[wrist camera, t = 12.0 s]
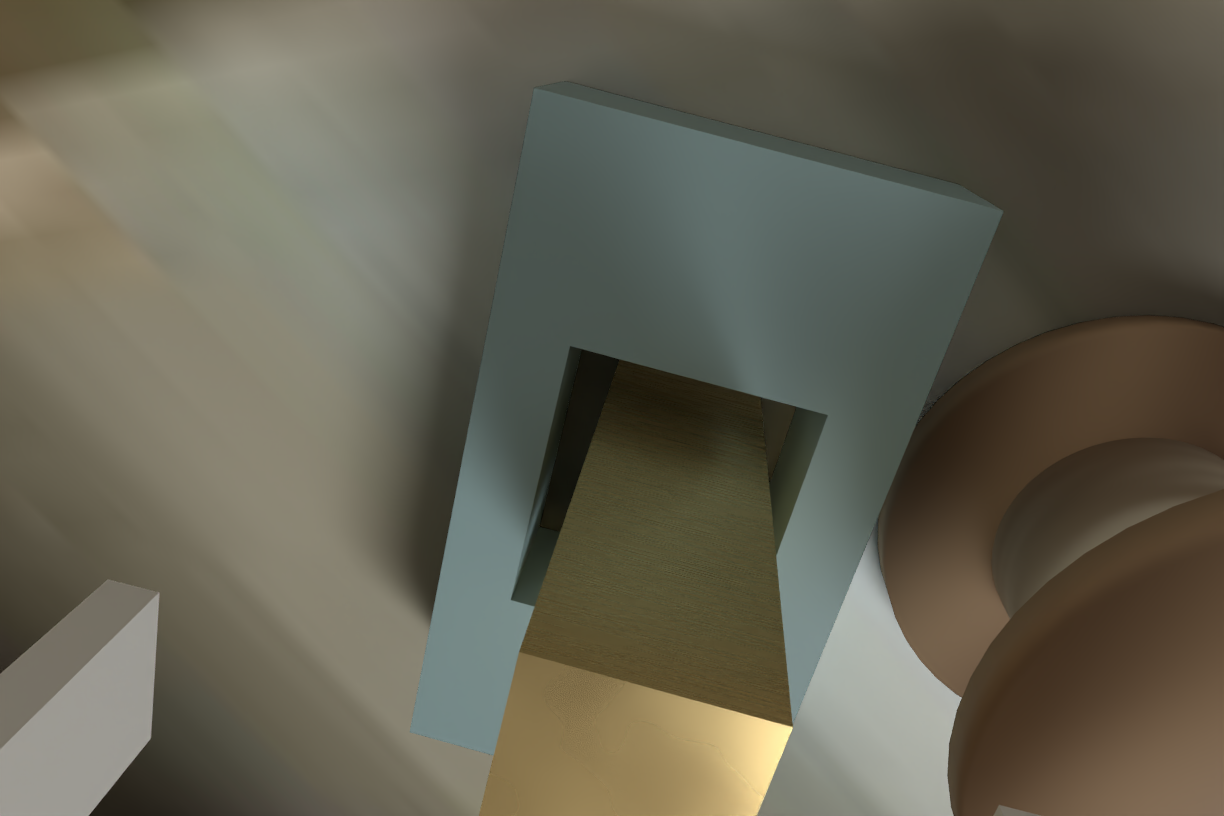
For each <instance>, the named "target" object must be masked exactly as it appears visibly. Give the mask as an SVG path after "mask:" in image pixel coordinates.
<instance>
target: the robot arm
mask: <svg viewBox="0 0 1224 816" xmlns="http://www.w3.org/2000/svg"><path fill="white" fill-rule="evenodd" d="M158 607H159V592H156V591H152V590H148V589H144V588H140V587H136V586H132V585H128V584H124V583H121V582H117V581H113V580H109V579H108V580H107V581H105V582H104V583H103V584H102V585H101V586H100V587H99V588H97V589H96V590H95V591H94V592H93V593H92V594H91V595H89V596H88V597H87V598H86V599H85V600H84V601H83V602H81V603H80V604H79V605H78V606H77V607H76V608H75V609H73V610H72V611H71V612H70V613H69V614H68V615H67V616H66V617H64V618H63V619H62V620H61V621H60V622H59V623H58V624H56V625H55V626H54V627H53V628H52V629H51V630H50V631H48V632H47V633H46V634H45V635H44V636H43V637H42V638H40V639H39V640H38V641H37V642H36V643H35V644H34V645H32V646H31V647H30V648H29V649H28V650H27V651H26V652H24V653H23V654H22V655H21V656H20V657H19V658H18V659H17V660H15V661H14V662H13V663H12V664H11V665H10V666H9V667H7V668H6V669H5V670H4V671H3V672H2V673H1V674H0V816H89V815H90V813H91V812H92V811H93V810H94V808H95V807H96V806H97V805H98V803H99V802H100V801H101V800H102V798H103V797H104V796H105V795H106V793H107V792H108V791H109V790H110V789H111V787H112V786H113V785H114V784H115V782H116V781H117V780H118V779H119V777H120V776H121V775H122V774H123V772H124V771H125V770H126V769H127V767H128V766H129V765H130V764H131V762H132V761H133V760H134V759H135V758H136V756H137V755H138V754H139V753H140V751H141V750H142V749H143V748H144V746H145V745H146V744H147V743H148V741H149V740H150V739H151V728H152V711H153V694H154V676H155V659H156V642H157V625H158ZM993 816H1041V815H1037V814H1033V813H1029V812H1025V811H1021V810H1017V809H1013V808H1009V807H1005V806H1001V805H999V806H998V808H997V810H996V812H995V814H994V815H993Z"/></svg>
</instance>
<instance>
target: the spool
mask: <svg viewBox="0 0 1224 816" xmlns="http://www.w3.org/2000/svg"><path fill="white" fill-rule="evenodd" d="M878 551H879V558H880V565H881V571H882V574H883V577H884V581H885V584H886V587H887V591H888V594H889V598H890V601H891V604H892V608H893V611H894V614H895V618H896V620H897V622H898V624H899V626H900V628H901V630H902V632H903V634H904V636H905V638H906V640H907V642H908V643H909V645H910V646H911V648H912V649H913V650H914V652H915V653H916V655H917V656H918V658H919V659H920V660H921V662H922V663H923V664H924V665H925V666H926V667H927V668H928V669H929V670H930V671H931V672H932V673H933V675H934V676H935V677H936V678H937V679H938V680H940V681H941V682H942V683H943V684H945V685H946V686H947V687H948V688H949V689H951V690H952V691H953V692H954V693H955V694H957V695H958V696H960V697H962V699H961V702H960V704H959V707H958V709H957V713H956V717H955V721H954V726H953V730H952V734H951V738H950V743H949V758H948V784H949V792H950V801H951V808H952V811H953V814H954V816H993V815H994V814H995V812H996V810H997V808H998V806H999V805H1001V806H1005V807H1009V808H1013V809H1017V810H1021V811H1025V812H1029V813H1033V814H1037V815H1041V816H1224V327H1222V326H1219V325H1216V324H1212V323H1207V322H1202V321H1197V320H1192V319H1187V318H1182V317H1167V316H1153V315H1142V316H1122V317H1111V318H1105V319H1099V320H1093V321H1087V322H1081V323H1077V324H1074V325H1070V326H1067V327H1063V328H1060V329H1056V330H1053V331H1049V332H1046V333H1044V334H1041V335H1039V336H1037V337H1034V338H1032V339H1029V340H1027V341H1024V342H1022V343H1020V344H1017V345H1015V346H1013V347H1012V348H1010V349H1008V350H1006V351H1004V352H1002V353H1001V354H999V355H997V356H995V357H993V358H991V359H990V360H988V361H986V362H985V363H984V364H982V365H981V366H979V367H978V368H976V369H975V370H974V371H972V372H971V373H969V374H968V375H967V376H965V377H964V378H962V379H961V380H960V381H959V382H958V383H957V384H955V385H954V386H953V387H952V388H951V389H950V390H949V391H948V392H947V393H945V394H944V395H943V396H942V397H941V398H940V399H939V400H938V401H937V402H936V403H935V404H934V405H933V407H932V408H931V409H930V410H929V411H928V412H927V413H926V415H925V416H924V417H923V418H922V419H921V420H920V421H919V423H918V424H917V426H916V427H915V429H914V431H913V433H912V436H911V438H910V440H909V443H908V445H907V448H906V450H905V453H904V455H903V457H902V460H901V462H900V465H899V467H898V470H897V472H896V474H895V477H894V479H893V482H892V484H891V487H890V489H889V491H888V494H887V496H886V499H885V501H884V504H883V506H882V508H881V511H880V513H879V519H878Z"/></svg>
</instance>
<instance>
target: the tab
mask: <svg viewBox="0 0 1224 816" xmlns="http://www.w3.org/2000/svg"><path fill="white" fill-rule="evenodd" d="M792 728H793V723H792V713H791V703H790V692H789V682H788V672H787V662H786V651H785V641H784V631H783V621H782V611H781V600H780V590H779V580H778V570H777V559H776V549H775V539H774V529H773V518H772V508H771V498H770V488H769V477H768V467H767V457H766V447H765V436H764V426H763V416H762V406H761V397H759V396H755V395H751V394H747V393H744V392H740V391H736V390H733V389H729V388H725V387H721V386H718V385H714V384H710V383H706V382H703V381H699V380H695V379H692V378H688V377H684V376H680V375H677V374H673V373H669V372H665V371H662V370H658V369H654V368H651V367H647V366H643V365H639V364H636V363H632V362H628V361H624V360H621V359H620V360H619V363H618V366H617V368H616V371H615V374H614V377H613V380H612V383H611V386H610V389H609V392H608V395H607V398H606V400H605V403H604V406H603V409H602V412H601V415H600V418H599V421H598V424H597V427H596V430H595V432H594V435H593V438H592V441H591V444H590V447H589V450H588V453H587V456H586V459H585V462H584V464H583V467H582V470H581V473H580V476H579V479H578V482H577V485H576V488H575V491H574V494H573V496H572V499H571V502H570V505H569V508H568V511H567V514H566V517H565V520H564V523H563V526H562V528H561V531H560V534H559V537H558V540H557V543H556V546H555V549H554V552H553V555H552V558H551V560H550V563H549V566H548V569H547V572H546V575H545V578H544V581H543V584H542V587H541V590H540V592H539V595H538V598H537V601H536V604H535V607H534V610H533V613H532V616H531V619H530V622H529V624H528V627H527V630H526V633H525V636H524V639H523V642H522V645H521V648H520V651H519V654H518V658H517V662H516V666H515V670H514V675H513V679H512V683H511V687H510V691H509V695H508V699H507V703H506V707H505V711H504V715H503V720H502V724H501V728H500V732H499V736H498V740H497V744H496V748H495V752H494V756H493V760H492V764H491V769H490V773H489V777H488V781H487V785H486V789H485V793H484V797H483V801H482V805H481V809H480V814H479V816H757V813H758V811H759V808H760V806H761V804H762V801H763V799H764V796H765V794H766V791H767V789H768V787H769V784H770V782H771V779H772V777H773V774H774V772H775V770H776V767H777V765H778V762H779V760H780V757H781V755H782V753H783V750H784V748H785V745H786V743H787V741H788V738H789V736H790V733H791V731H792Z"/></svg>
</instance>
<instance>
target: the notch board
mask: <svg viewBox="0 0 1224 816" xmlns="http://www.w3.org/2000/svg"><path fill="white" fill-rule="evenodd" d="M1003 212H1004V211H1003V210H1001V209H999V208H998V207H996V206H994V205H993V204H991V203H989V202H988V201H986V200H984V199H983V198H981V197H979V196H977V195H976V194H974V193H972V192H971V191H969V190H967V189H966V188H964V187H962V186H961V185H959V184H955V183H951V182H947V181H944V180H940V179H936V178H932V177H928V176H925V175H921V174H917V173H913V172H909V171H906V170H902V169H898V168H894V167H890V166H887V165H883V164H879V163H875V162H871V161H867V160H864V159H860V158H856V157H852V156H848V155H845V154H841V153H837V152H833V151H829V150H826V149H822V148H818V147H814V146H810V145H806V144H803V143H799V142H795V141H791V140H787V139H784V138H780V137H776V136H772V135H768V134H765V133H761V132H757V131H753V130H749V129H746V128H742V127H738V126H734V125H730V124H726V123H723V122H719V121H715V120H711V119H707V118H704V117H700V116H696V115H692V114H688V113H685V112H681V111H677V110H673V109H669V108H666V107H662V106H658V105H654V104H650V103H646V102H643V101H639V100H635V99H631V98H627V97H624V96H620V95H616V94H612V93H608V92H605V91H601V90H597V89H593V88H589V87H586V86H582V85H578V84H574V83H570V82H566V81H564V82H559V83H554V84H549V85H544V86H540V87H535V88H534V90H533V96H532V101H531V106H530V111H529V116H528V122H527V127H526V132H525V137H524V142H523V147H522V153H521V158H520V163H519V168H518V173H517V179H516V184H515V189H514V194H513V199H512V204H511V210H510V215H509V220H508V225H507V230H506V236H505V241H504V246H503V251H502V256H501V262H500V267H499V272H498V277H497V282H496V287H495V293H494V298H493V303H492V308H491V313H490V319H489V324H488V329H487V334H486V339H485V344H484V350H483V355H482V360H481V365H480V370H479V376H478V381H477V386H476V391H475V396H474V401H473V407H472V412H471V417H470V422H469V427H468V433H467V438H466V443H465V448H464V453H463V459H462V464H461V469H460V474H459V479H458V484H457V490H456V495H455V500H454V505H453V510H452V516H451V521H450V526H449V531H448V536H447V541H446V547H445V552H444V557H443V562H442V567H441V573H440V578H439V583H438V588H437V593H436V598H435V604H434V609H433V614H432V619H431V624H430V630H429V635H428V640H427V645H426V650H425V656H424V661H423V666H422V671H421V676H420V681H419V687H418V692H417V697H416V702H415V707H414V713H413V718H412V723H411V728H410V732H411V733H415V734H418V735H422V736H425V737H429V738H433V739H436V740H440V741H443V742H447V743H451V744H454V745H458V746H461V747H465V748H469V749H472V750H476V751H479V752H483V753H487V754H490V755H494V752H495V748H496V744H497V740H498V736H499V732H500V728H501V724H502V720H503V715H504V711H505V707H506V703H507V699H508V695H509V691H510V687H511V683H512V679H513V675H514V670H515V666H516V662H517V658H518V654H519V651H520V648H521V645H522V642H523V639H524V636H525V633H526V630H527V627H528V624H529V622H530V619H531V616H532V613H533V610H534V607H535V604H536V601H537V598H538V595H539V592H540V590H541V587H542V584H543V581H544V578H545V575H546V572H547V569H548V566H549V563H550V560H551V558H552V555H553V552H554V549H555V546H556V543H557V540H558V537H559V534H560V532H557V531H553V530H550V529H546V528H542V527H539V526H540V522H541V518H542V514H543V509H544V505H545V501H546V497H547V493H548V489H549V484H550V480H551V476H552V472H553V468H554V463H555V459H556V455H557V451H558V447H559V443H560V438H561V434H562V430H563V426H564V422H565V418H566V413H567V409H568V405H569V401H570V397H571V392H572V388H573V384H574V380H575V376H576V372H577V367H578V363H579V359H580V355H581V351H582V349H583V350H587V351H591V352H595V353H598V354H602V355H606V356H610V357H613V358H617V359H621V360H624V361H628V362H632V363H636V364H639V365H643V366H647V367H651V368H654V369H658V370H662V371H665V372H669V373H673V374H677V375H680V376H684V377H688V378H692V379H695V380H699V381H703V382H706V383H710V384H714V385H718V386H721V387H725V388H729V389H733V390H736V391H740V392H744V393H747V394H751V395H755V396H759V397H762V398H766V399H770V400H774V401H777V402H781V403H785V404H788V405H792V406H796V410H795V413H794V416H793V419H792V422H791V425H790V427H789V430H788V433H787V436H786V439H785V442H784V445H783V447H782V450H781V453H780V456H779V459H778V462H777V465H776V467H775V470H774V473H773V476H772V479H771V482H770V485H769V488H770V498H771V508H772V518H773V529H774V539H775V549H776V559H777V570H778V580H779V590H780V600H781V611H782V621H783V631H784V641H785V651H786V662H787V672H788V682H789V692H790V703H791V713H792V723H793V722H794V720H795V717H796V715H797V712H798V710H799V708H800V705H801V703H802V700H803V698H804V695H805V693H806V691H807V688H808V686H809V683H810V681H811V678H812V676H813V674H814V671H815V669H816V666H817V664H818V661H819V659H820V657H821V654H822V652H823V649H824V647H825V644H826V642H827V640H828V637H829V635H830V632H831V630H832V627H833V625H834V623H835V620H836V618H837V615H838V613H839V610H840V608H841V606H842V603H843V601H844V598H845V596H846V593H847V591H848V589H849V586H850V584H851V581H852V579H853V576H854V574H855V572H856V569H857V567H858V564H859V562H860V559H861V557H862V555H863V552H864V550H865V547H866V545H867V542H868V540H869V538H870V535H871V533H872V530H873V528H874V525H875V523H876V521H877V518H878V516H879V513H880V511H881V508H882V506H883V504H884V501H885V499H886V496H887V494H888V491H889V489H890V487H891V484H892V482H893V479H894V477H895V474H896V472H897V470H898V467H899V465H900V462H901V460H902V457H903V455H904V453H905V450H906V448H907V445H908V443H909V440H910V438H911V436H912V433H913V431H914V428H915V426H916V423H917V421H918V419H919V416H920V414H921V411H922V409H923V406H924V404H925V402H926V399H927V397H928V394H929V392H930V389H931V387H932V385H933V382H934V380H935V377H936V375H937V372H938V370H939V368H940V365H941V363H942V360H943V358H944V355H945V353H946V351H947V348H948V346H949V343H950V341H951V338H952V336H953V334H954V331H955V329H956V326H957V324H958V321H959V319H960V317H961V314H962V312H963V309H964V307H965V304H966V302H967V300H968V297H969V295H970V292H971V290H972V287H973V285H974V283H975V280H976V278H977V275H978V273H979V270H980V268H981V266H982V263H983V261H984V258H985V256H986V253H987V251H988V249H989V246H990V244H991V241H992V239H993V236H994V234H995V232H996V229H997V227H998V224H999V222H1000V219H1001V217H1002V215H1003Z"/></svg>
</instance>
